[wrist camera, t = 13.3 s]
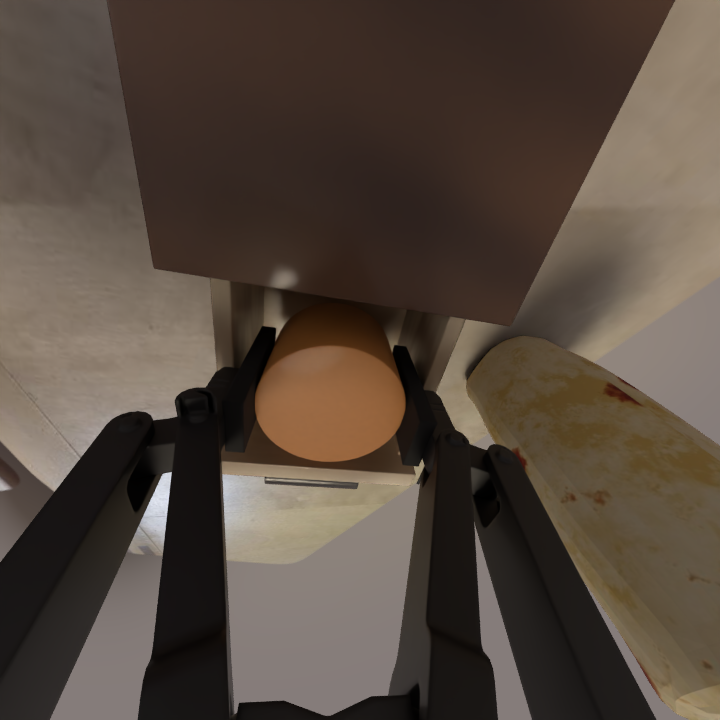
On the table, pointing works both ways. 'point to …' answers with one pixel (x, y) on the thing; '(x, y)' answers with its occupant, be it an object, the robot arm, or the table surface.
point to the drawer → (273, 309)
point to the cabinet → (372, 138)
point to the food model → (620, 504)
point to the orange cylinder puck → (330, 385)
